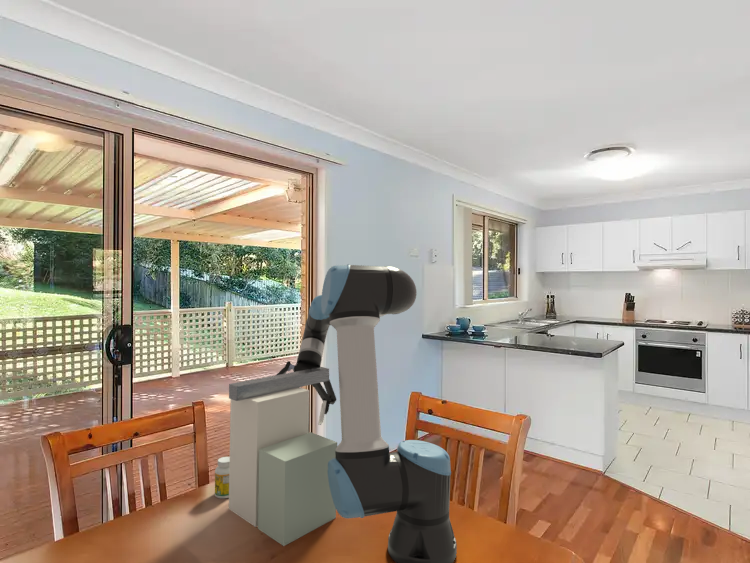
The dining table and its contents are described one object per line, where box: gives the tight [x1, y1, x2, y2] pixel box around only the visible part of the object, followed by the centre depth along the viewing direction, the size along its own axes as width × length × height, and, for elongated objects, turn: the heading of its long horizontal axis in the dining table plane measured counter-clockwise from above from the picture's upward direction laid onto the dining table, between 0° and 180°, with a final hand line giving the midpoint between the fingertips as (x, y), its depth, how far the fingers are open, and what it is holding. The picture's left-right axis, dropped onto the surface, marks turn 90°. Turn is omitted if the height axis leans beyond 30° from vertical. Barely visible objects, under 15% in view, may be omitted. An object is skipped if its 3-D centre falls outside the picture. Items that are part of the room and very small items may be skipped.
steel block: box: [228, 366, 330, 401], centre depth 118 cm, size 30×4×4 cm, turn 139°
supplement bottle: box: [214, 456, 230, 500], centre depth 121 cm, size 5×5×10 cm
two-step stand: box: [228, 387, 338, 547], centre depth 112 cm, size 16×23×30 cm
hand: (296, 418), depth 126 cm, fingers open, 13 cm apart
